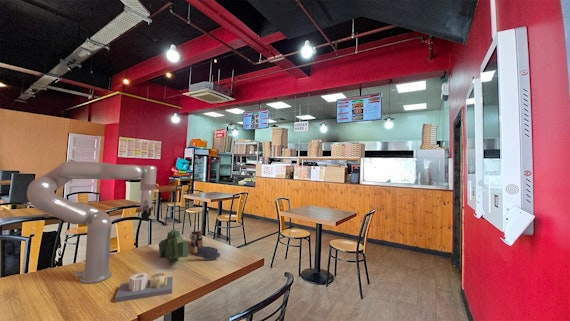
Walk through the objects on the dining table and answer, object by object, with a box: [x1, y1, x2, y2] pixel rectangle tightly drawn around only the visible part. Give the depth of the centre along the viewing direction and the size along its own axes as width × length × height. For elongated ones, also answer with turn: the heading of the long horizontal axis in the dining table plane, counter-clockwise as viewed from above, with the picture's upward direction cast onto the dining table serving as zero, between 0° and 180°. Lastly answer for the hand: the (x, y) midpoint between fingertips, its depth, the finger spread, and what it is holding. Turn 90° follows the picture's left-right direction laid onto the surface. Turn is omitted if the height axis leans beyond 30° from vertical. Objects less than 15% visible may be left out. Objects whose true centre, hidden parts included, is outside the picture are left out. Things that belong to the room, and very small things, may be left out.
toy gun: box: [189, 230, 204, 253], centre depth 169 cm, size 5×28×15 cm, turn 31°
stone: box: [195, 245, 221, 262], centre depth 149 cm, size 14×6×10 cm, turn 130°
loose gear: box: [128, 272, 149, 292], centre depth 111 cm, size 7×7×5 cm
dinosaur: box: [158, 229, 190, 263], centre depth 147 cm, size 35×12×19 cm, turn 42°
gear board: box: [114, 271, 174, 303], centre depth 112 cm, size 22×13×8 cm, turn 115°
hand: (146, 218), depth 135 cm, fingers open, 9 cm apart
